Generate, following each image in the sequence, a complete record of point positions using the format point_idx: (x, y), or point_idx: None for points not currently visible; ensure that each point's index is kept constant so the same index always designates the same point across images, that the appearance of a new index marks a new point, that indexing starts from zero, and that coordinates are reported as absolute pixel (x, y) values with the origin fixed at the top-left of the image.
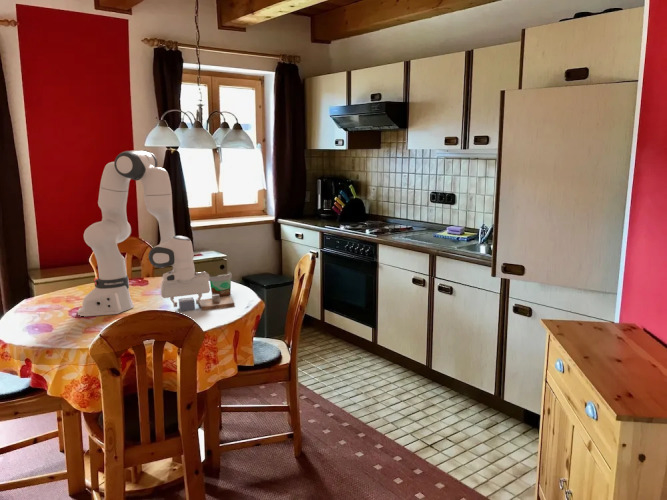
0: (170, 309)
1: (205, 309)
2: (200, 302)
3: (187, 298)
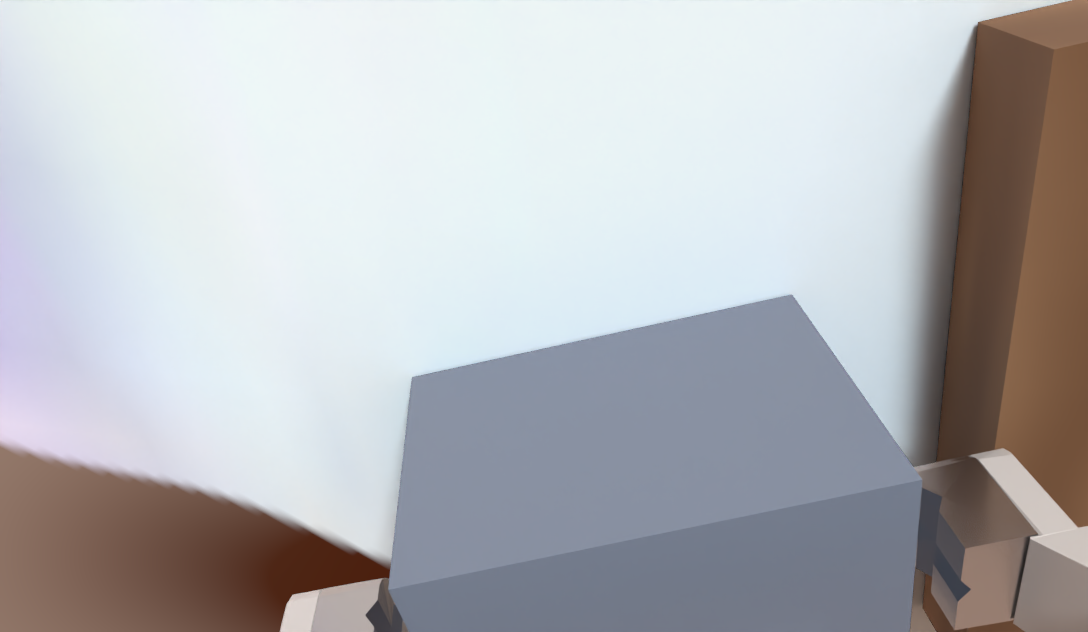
0: (203, 457)
1: None
2: (1041, 365)
3: (717, 582)
